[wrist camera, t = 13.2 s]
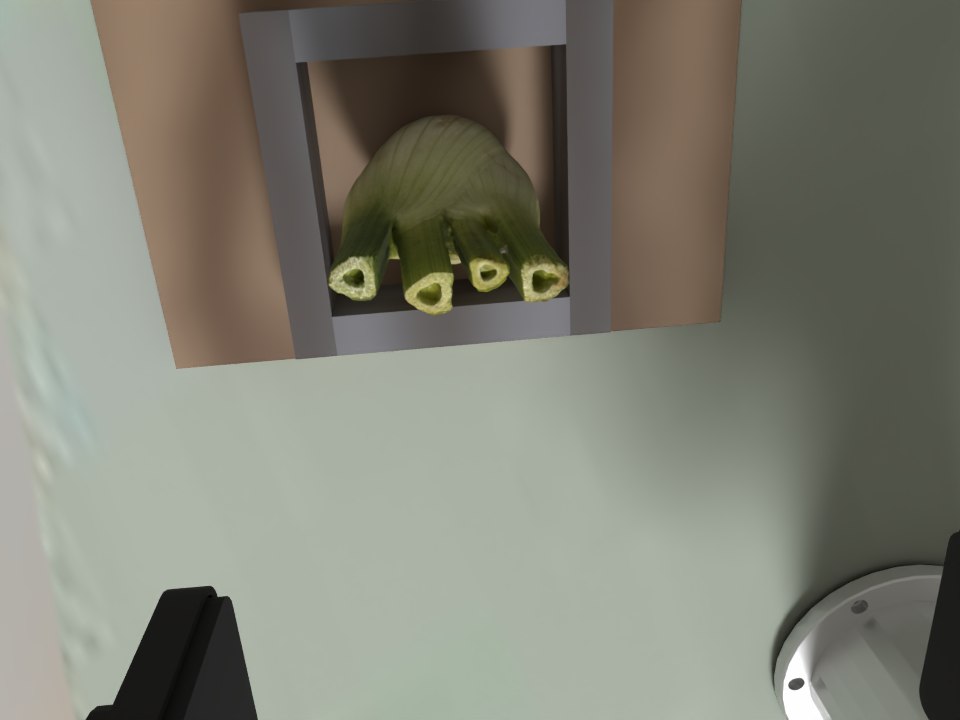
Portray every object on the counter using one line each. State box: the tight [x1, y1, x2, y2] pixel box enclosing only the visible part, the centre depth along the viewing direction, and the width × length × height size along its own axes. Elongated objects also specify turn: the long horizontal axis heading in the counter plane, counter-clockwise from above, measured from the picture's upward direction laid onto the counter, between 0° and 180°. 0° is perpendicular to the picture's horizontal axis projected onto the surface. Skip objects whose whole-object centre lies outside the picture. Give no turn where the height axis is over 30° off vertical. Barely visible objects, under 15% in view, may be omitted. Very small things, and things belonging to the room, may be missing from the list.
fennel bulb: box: [327, 114, 570, 316], centre depth 25 cm, size 6×5×12 cm
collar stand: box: [91, 0, 742, 369], centre depth 30 cm, size 22×14×4 cm, turn 93°
